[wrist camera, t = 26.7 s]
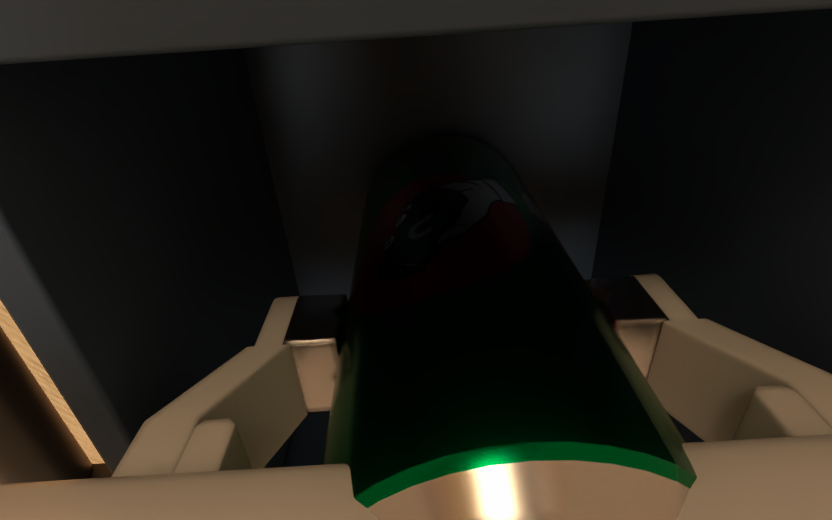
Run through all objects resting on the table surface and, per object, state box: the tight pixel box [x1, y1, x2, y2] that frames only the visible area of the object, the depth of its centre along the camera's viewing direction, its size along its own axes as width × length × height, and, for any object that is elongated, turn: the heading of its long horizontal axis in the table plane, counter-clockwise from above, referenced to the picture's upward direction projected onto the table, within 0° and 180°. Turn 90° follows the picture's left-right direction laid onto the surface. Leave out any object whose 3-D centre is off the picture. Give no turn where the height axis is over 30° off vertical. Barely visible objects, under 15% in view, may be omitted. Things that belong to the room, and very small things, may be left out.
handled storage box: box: [0, 0, 832, 484], centre depth 11 cm, size 16×13×10 cm
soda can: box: [321, 135, 697, 520], centre depth 10 cm, size 5×5×12 cm
